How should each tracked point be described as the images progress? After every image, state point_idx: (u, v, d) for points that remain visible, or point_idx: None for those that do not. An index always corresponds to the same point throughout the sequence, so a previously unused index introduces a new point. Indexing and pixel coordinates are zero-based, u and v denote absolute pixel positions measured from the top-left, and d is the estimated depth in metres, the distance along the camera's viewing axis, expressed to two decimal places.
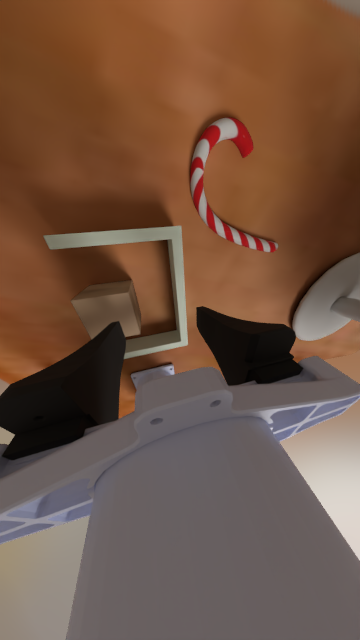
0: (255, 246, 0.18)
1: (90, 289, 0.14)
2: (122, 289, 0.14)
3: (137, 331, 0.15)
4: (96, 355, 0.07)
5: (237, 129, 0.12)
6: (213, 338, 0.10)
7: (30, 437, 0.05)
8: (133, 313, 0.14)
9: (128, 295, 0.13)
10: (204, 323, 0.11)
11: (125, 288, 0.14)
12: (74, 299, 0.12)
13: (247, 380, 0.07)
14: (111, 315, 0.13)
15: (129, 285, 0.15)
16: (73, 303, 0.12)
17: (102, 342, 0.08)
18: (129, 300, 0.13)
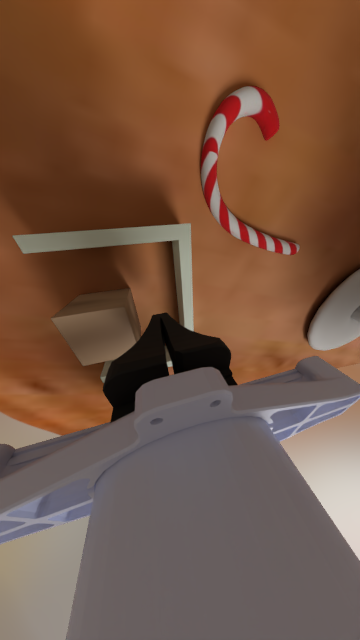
0: (274, 248, 0.15)
1: (79, 301, 0.12)
2: (118, 301, 0.11)
3: None
4: (162, 341, 0.07)
5: (262, 102, 0.09)
6: (169, 348, 0.10)
7: (128, 410, 0.05)
8: (131, 330, 0.11)
9: (124, 310, 0.10)
10: (164, 331, 0.11)
11: (121, 300, 0.11)
12: (56, 316, 0.10)
13: None
14: (104, 333, 0.11)
15: (126, 295, 0.12)
16: (54, 321, 0.09)
17: (160, 331, 0.08)
18: (126, 316, 0.11)
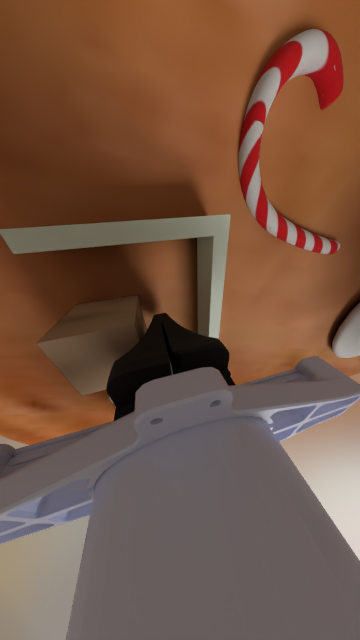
0: (312, 246, 0.13)
1: (75, 314, 0.09)
2: (124, 315, 0.09)
3: None
4: (164, 341, 0.07)
5: (328, 52, 0.07)
6: (168, 348, 0.10)
7: (131, 409, 0.05)
8: None
9: (134, 328, 0.08)
10: (163, 331, 0.11)
11: (129, 313, 0.09)
12: (43, 339, 0.07)
13: None
14: (108, 358, 0.08)
15: (134, 307, 0.10)
16: (41, 347, 0.07)
17: (161, 330, 0.08)
18: (135, 335, 0.08)
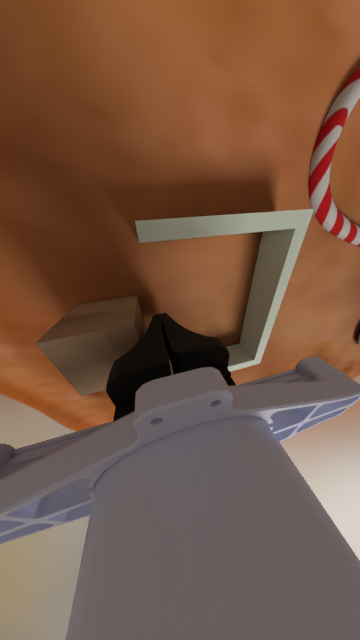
0: None
1: (75, 314, 0.09)
2: (124, 315, 0.09)
3: None
4: (164, 341, 0.07)
5: None
6: (168, 348, 0.10)
7: (131, 409, 0.05)
8: None
9: (133, 328, 0.08)
10: (163, 331, 0.11)
11: (128, 313, 0.09)
12: (43, 340, 0.07)
13: None
14: (107, 358, 0.08)
15: (134, 307, 0.10)
16: (41, 347, 0.07)
17: (161, 330, 0.08)
18: (135, 335, 0.08)
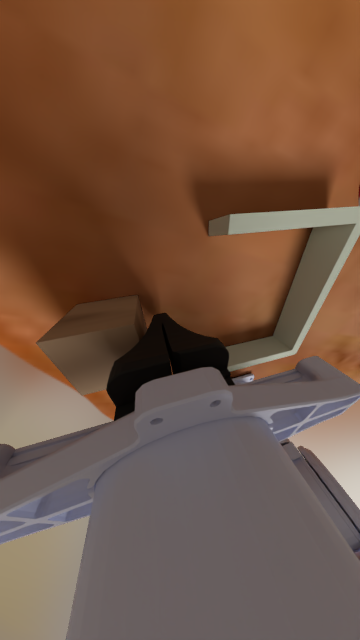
0: None
1: (75, 314, 0.09)
2: (124, 315, 0.09)
3: None
4: (164, 341, 0.07)
5: None
6: (168, 348, 0.10)
7: (131, 409, 0.05)
8: None
9: (134, 328, 0.08)
10: None
11: (129, 313, 0.09)
12: (43, 339, 0.07)
13: None
14: (107, 357, 0.08)
15: (134, 306, 0.10)
16: (41, 346, 0.07)
17: (161, 330, 0.08)
18: (135, 335, 0.08)
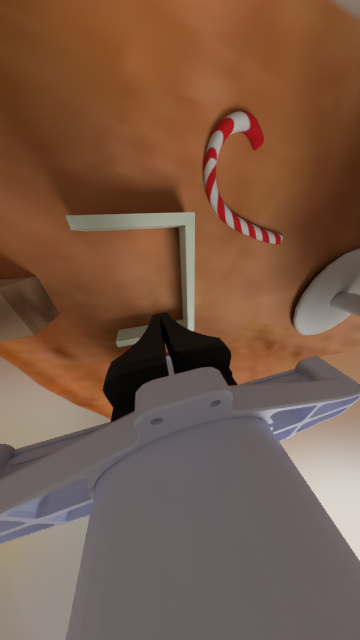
0: (261, 237, 0.18)
1: None
2: (1, 285, 0.12)
3: (29, 332, 0.13)
4: (162, 341, 0.07)
5: (249, 122, 0.13)
6: (169, 348, 0.10)
7: (128, 409, 0.05)
8: (14, 312, 0.12)
9: None
10: (164, 331, 0.11)
11: (6, 284, 0.12)
12: None
13: None
14: None
15: (18, 281, 0.13)
16: None
17: (160, 331, 0.08)
18: (2, 298, 0.12)
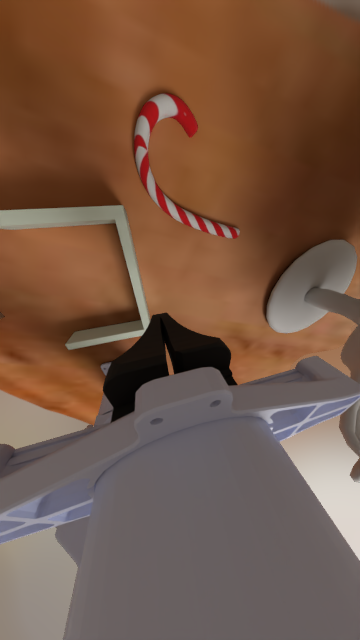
0: (215, 231, 0.17)
1: None
2: None
3: None
4: (162, 341, 0.07)
5: (176, 106, 0.12)
6: (169, 348, 0.10)
7: (128, 409, 0.05)
8: None
9: None
10: (164, 331, 0.11)
11: None
12: None
13: None
14: None
15: None
16: None
17: (160, 331, 0.08)
18: None
